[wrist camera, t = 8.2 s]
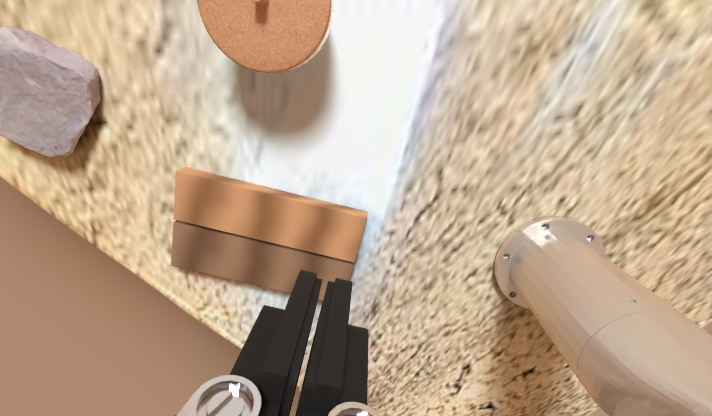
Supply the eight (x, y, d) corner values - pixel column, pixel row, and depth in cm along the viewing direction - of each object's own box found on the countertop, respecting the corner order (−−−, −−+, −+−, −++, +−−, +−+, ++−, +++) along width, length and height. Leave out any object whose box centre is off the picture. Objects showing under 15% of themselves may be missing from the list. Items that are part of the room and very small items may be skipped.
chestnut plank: (367, 211, 40) (366, 218, 39) (355, 254, 43) (354, 262, 41) (185, 167, 40) (176, 171, 38) (182, 213, 42) (173, 219, 40)
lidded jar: (338, 77, 35) (327, 75, 27) (237, 72, 36) (193, 69, 27) (341, -46, 32) (328, -95, 23) (228, -49, 32) (174, -99, 23)
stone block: (119, 68, 38) (14, 19, 35) (95, 72, 34) (-27, 17, 31) (98, 158, 42) (3, 122, 39) (75, 172, 38) (-34, 133, 35)
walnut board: (354, 257, 43) (353, 265, 41) (344, 296, 45) (342, 305, 43) (182, 216, 42) (173, 222, 40) (179, 257, 44) (171, 265, 42)
